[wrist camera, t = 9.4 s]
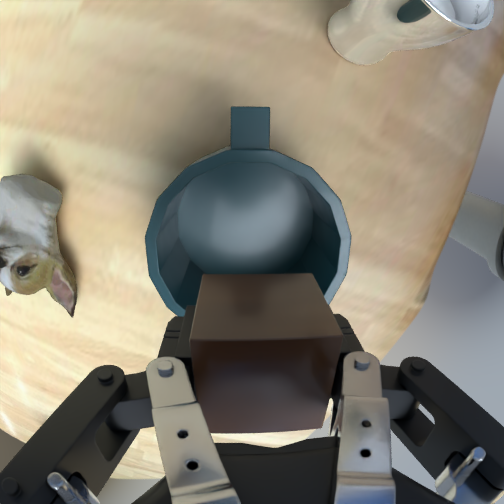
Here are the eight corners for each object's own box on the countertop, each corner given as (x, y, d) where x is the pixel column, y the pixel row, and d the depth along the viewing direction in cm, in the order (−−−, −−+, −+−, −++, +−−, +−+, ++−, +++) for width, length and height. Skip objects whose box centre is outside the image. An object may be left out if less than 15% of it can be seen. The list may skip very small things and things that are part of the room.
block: (312, 272, 13) (344, 335, 9) (302, 357, 15) (322, 428, 11) (202, 273, 13) (188, 339, 9) (208, 359, 15) (201, 433, 10)
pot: (325, 118, 26) (360, 113, 18) (311, 311, 33) (331, 364, 25) (167, 116, 25) (138, 110, 17) (178, 313, 32) (163, 367, 24)
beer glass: (397, 70, 24) (508, 44, 10) (329, 70, 24) (415, 21, 10) (383, 7, 22) (475, -52, 8) (315, 3, 22) (378, -83, 8)
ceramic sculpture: (40, 191, 18) (55, 354, 24) (91, 167, 26) (88, 303, 32) (-47, 176, 17) (-24, 321, 23) (9, 157, 25) (16, 281, 31)
